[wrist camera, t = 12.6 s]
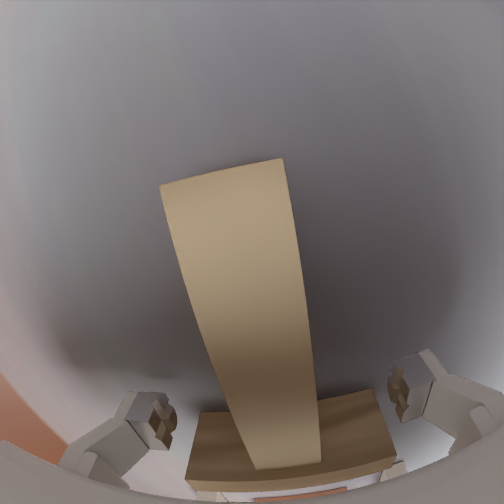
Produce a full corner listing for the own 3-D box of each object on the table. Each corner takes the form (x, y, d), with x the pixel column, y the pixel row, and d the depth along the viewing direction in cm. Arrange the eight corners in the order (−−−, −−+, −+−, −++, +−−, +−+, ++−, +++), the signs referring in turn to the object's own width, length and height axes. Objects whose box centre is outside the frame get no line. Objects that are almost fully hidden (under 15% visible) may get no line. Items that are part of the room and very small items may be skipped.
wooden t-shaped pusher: (122, 198, 9) (46, 223, 5) (361, 149, 8) (427, 141, 4) (208, 425, 12) (194, 490, 8) (369, 403, 11) (391, 467, 7)
